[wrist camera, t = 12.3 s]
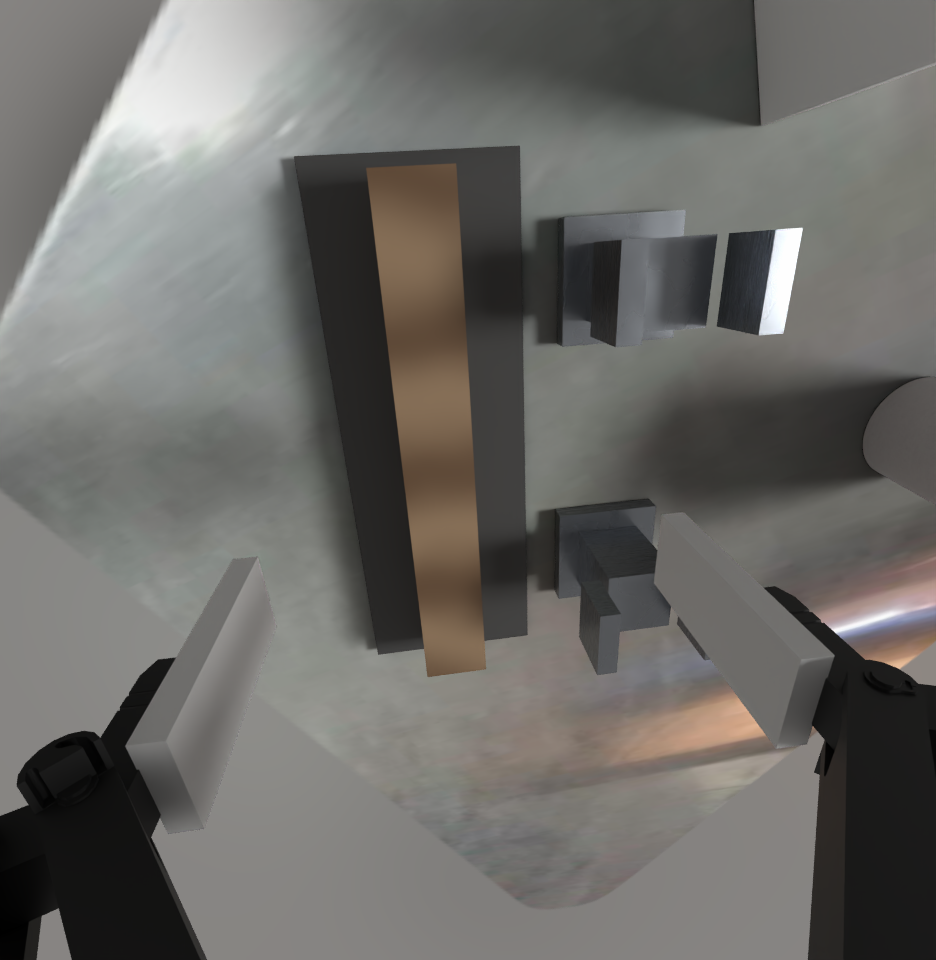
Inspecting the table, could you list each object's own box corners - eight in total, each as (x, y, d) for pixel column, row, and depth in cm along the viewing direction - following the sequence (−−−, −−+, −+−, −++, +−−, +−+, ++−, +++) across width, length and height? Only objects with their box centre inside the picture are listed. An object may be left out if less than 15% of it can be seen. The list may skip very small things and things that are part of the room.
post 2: (550, 509, 31) (601, 595, 23) (653, 498, 32) (737, 578, 24) (550, 590, 34) (596, 693, 26) (645, 578, 34) (719, 675, 26)
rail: (371, 180, 23) (365, 167, 20) (448, 176, 23) (456, 163, 20) (425, 636, 33) (427, 677, 30) (478, 630, 34) (486, 669, 30)
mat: (296, 158, 23) (294, 156, 22) (517, 148, 24) (519, 145, 23) (378, 648, 34) (378, 654, 33) (525, 629, 35) (527, 635, 34)
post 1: (552, 219, 25) (624, 199, 17) (681, 211, 25) (809, 189, 17) (551, 344, 27) (614, 379, 19) (669, 334, 28) (777, 364, 20)
